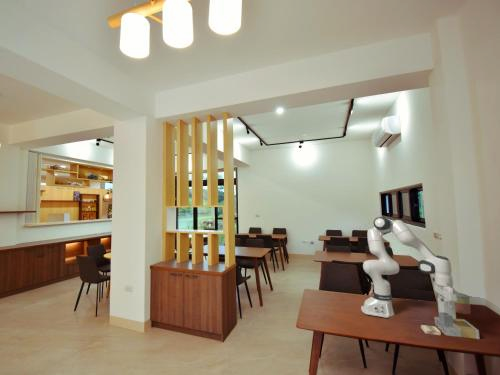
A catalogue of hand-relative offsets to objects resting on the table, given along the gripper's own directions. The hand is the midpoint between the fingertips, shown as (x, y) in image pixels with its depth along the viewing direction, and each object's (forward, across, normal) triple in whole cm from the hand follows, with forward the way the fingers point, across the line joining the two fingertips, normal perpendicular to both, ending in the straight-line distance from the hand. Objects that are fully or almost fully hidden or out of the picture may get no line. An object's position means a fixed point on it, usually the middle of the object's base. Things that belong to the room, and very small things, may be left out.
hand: (446, 303), depth 152 cm
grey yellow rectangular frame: (+16, 0, -4) cm, 17 cm away
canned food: (+16, +34, -24) cm, 45 cm away
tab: (+16, -4, +11) cm, 20 cm away
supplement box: (+16, +20, -9) cm, 28 cm away
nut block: (+12, 0, +1) cm, 12 cm away
